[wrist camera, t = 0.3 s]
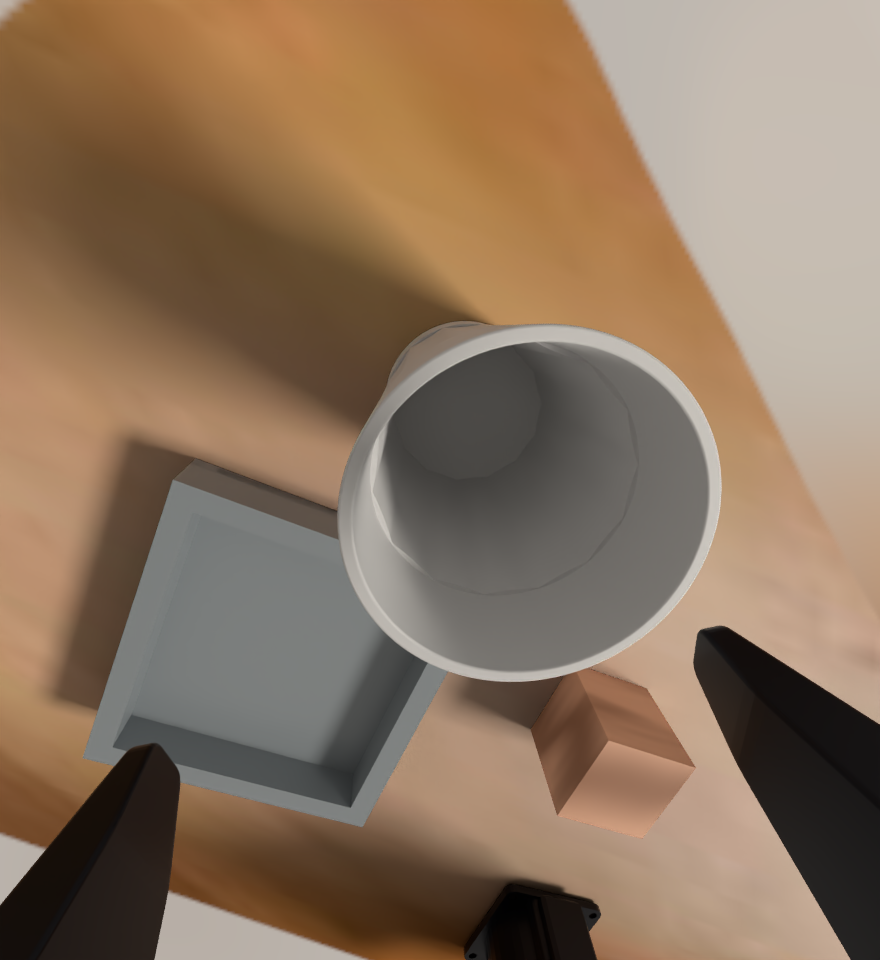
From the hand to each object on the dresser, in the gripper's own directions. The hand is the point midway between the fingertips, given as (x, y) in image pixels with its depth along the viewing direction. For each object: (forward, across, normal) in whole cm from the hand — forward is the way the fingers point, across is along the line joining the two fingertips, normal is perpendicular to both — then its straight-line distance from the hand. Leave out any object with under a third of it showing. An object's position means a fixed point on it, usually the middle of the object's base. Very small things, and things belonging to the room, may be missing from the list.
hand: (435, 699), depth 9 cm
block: (+11, -7, +19) cm, 23 cm away
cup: (+15, -3, +2) cm, 15 cm away
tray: (+13, +7, +11) cm, 19 cm away
